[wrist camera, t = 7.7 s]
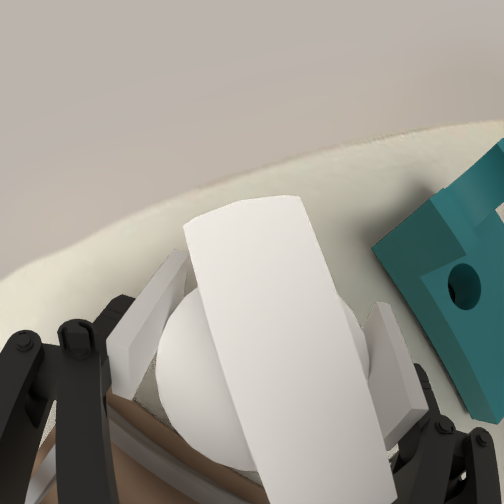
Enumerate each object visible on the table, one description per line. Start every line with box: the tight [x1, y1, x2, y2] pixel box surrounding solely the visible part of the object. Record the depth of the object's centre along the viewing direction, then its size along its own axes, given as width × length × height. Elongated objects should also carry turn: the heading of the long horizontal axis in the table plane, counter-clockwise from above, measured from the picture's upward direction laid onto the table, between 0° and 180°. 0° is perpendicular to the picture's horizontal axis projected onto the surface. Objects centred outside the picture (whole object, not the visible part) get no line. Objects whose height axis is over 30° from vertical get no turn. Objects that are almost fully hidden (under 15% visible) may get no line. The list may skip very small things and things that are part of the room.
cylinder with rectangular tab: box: [155, 195, 398, 504], centre depth 12 cm, size 9×9×12 cm
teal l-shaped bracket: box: [371, 138, 504, 424], centre depth 19 cm, size 18×11×10 cm, turn 33°
